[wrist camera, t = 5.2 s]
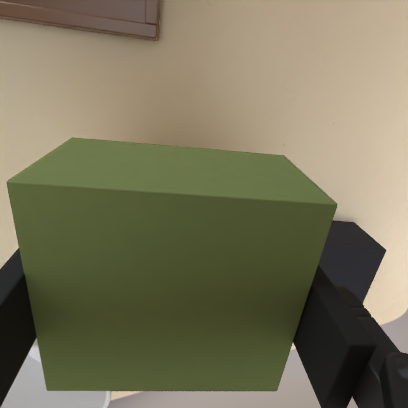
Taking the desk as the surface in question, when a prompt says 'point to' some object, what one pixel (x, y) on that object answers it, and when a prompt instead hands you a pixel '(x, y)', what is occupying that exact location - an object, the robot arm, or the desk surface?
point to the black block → (351, 257)
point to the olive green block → (166, 264)
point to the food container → (39, 396)
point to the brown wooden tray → (89, 15)
